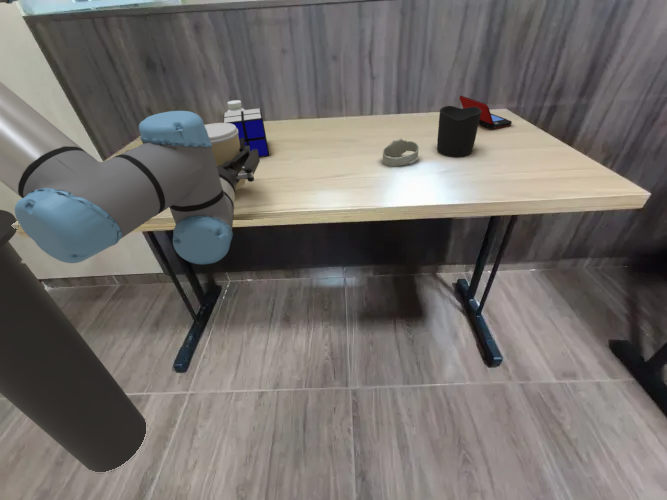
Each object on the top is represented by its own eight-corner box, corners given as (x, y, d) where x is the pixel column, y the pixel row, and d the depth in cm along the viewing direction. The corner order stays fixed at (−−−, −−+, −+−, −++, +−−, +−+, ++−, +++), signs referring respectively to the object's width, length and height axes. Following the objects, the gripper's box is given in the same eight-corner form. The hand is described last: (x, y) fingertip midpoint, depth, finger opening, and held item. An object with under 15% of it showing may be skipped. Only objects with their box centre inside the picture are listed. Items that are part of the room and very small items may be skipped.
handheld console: (513, 125, 101) (519, 98, 97) (481, 132, 99) (486, 104, 94) (484, 114, 111) (489, 89, 106) (454, 120, 108) (458, 94, 104)
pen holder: (455, 141, 95) (461, 102, 89) (482, 152, 88) (490, 111, 82) (427, 149, 91) (431, 109, 85) (453, 161, 85) (459, 119, 79)
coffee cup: (220, 173, 82) (205, 121, 74) (256, 176, 79) (245, 122, 72) (197, 192, 75) (179, 137, 67) (236, 196, 72) (222, 139, 65)
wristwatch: (411, 153, 90) (413, 134, 87) (423, 163, 85) (425, 142, 82) (378, 159, 88) (378, 140, 85) (388, 169, 83) (388, 149, 80)
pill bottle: (249, 136, 108) (242, 103, 102) (231, 138, 108) (223, 105, 102) (250, 130, 112) (243, 98, 107) (233, 132, 112) (225, 100, 106)
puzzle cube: (231, 161, 93) (222, 123, 87) (231, 148, 101) (223, 112, 95) (269, 155, 94) (262, 118, 88) (266, 143, 102) (260, 107, 96)
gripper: (155, 222, 60) (177, 168, 78) (278, 205, 63) (273, 156, 80) (137, 182, 56) (166, 135, 74) (271, 165, 58) (267, 123, 76)
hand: (222, 146), depth 77 cm, fingers closed on coffee cup, 8 cm apart
